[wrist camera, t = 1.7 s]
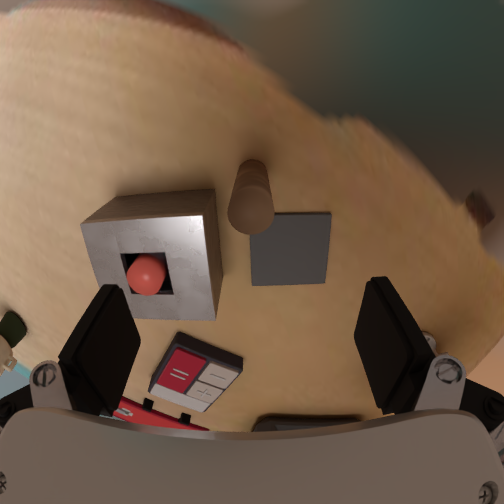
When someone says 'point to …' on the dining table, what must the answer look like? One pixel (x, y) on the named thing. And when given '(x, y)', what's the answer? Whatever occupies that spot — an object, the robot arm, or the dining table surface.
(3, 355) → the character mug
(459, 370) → the robot arm
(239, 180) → the brown cylinder
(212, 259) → the guard box
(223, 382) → the calculator
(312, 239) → the rest pad
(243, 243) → the dining table surface
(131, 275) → the red ball
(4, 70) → the dining table surface
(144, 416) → the red board with handle
